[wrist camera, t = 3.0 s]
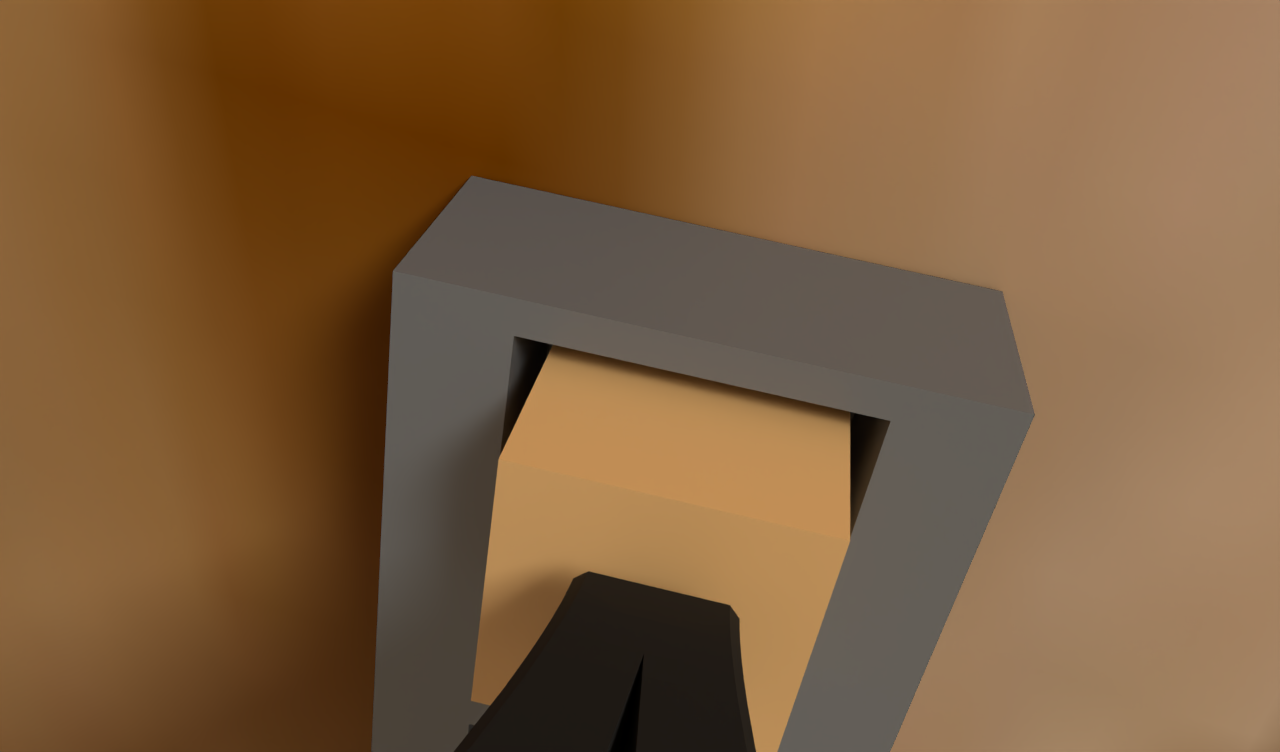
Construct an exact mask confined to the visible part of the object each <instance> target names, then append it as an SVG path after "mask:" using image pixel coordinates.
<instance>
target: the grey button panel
mask: <svg viewBox="0 0 1280 752" xmlns="http://www.w3.org/2000/svg"><path fill="white" fill-rule="evenodd" d="M553 345H557V346H561V347H566V348H570V349H574V350H579V351H583V352H588V353H592V354H597V355H601V356H605V357H610V358H614V359H619V360H623V361H628V362H632V363H636V364H641V365H645V366H650V367H654V368H659V369H663V370H667V371H672V372H676V373H681V374H685V375H689V376H694V377H698V378H703V379H707V380H712V381H716V382H720V383H725V384H729V385H734V386H738V387H743V388H747V389H751V390H756V391H760V392H765V393H769V394H774V395H778V396H782V397H787V398H791V399H796V400H800V401H805V402H809V403H813V404H818V405H822V406H827V407H831V408H836V409H840V410H844V411H849V412H850V543H849V546H848V549H847V552H846V554H845V557H844V560H843V563H842V566H841V569H840V572H839V575H838V578H837V581H836V583H835V586H834V589H833V592H832V595H831V598H830V601H829V604H828V607H827V609H826V612H825V615H824V618H823V621H822V624H821V627H820V630H819V633H818V635H817V638H816V641H815V644H814V647H813V650H812V653H811V656H810V659H809V662H808V664H807V667H806V670H805V673H804V676H803V679H802V682H801V685H800V688H799V690H798V693H797V696H796V699H795V702H794V705H793V708H792V711H791V714H790V716H789V719H788V722H787V725H786V728H785V731H784V734H783V737H782V740H781V743H780V745H779V748H778V751H777V752H890V751H891V748H892V746H893V744H894V741H895V739H896V737H897V734H898V732H899V730H900V727H901V725H902V723H903V720H904V718H905V716H906V713H907V711H908V709H909V706H910V704H911V702H912V699H913V697H914V695H915V692H916V690H917V688H918V685H919V683H920V681H921V678H922V676H923V674H924V671H925V669H926V667H927V664H928V662H929V660H930V657H931V655H932V653H933V650H934V648H935V646H936V643H937V641H938V639H939V636H940V634H941V632H942V629H943V627H944V625H945V622H946V620H947V618H948V616H949V613H950V611H951V609H952V606H953V604H954V602H955V599H956V597H957V595H958V592H959V590H960V588H961V585H962V583H963V581H964V578H965V576H966V574H967V571H968V569H969V567H970V564H971V562H972V560H973V557H974V555H975V553H976V550H977V548H978V546H979V543H980V541H981V539H982V536H983V534H984V532H985V529H986V527H987V525H988V522H989V520H990V518H991V515H992V513H993V511H994V508H995V506H996V504H997V501H998V499H999V497H1000V494H1001V492H1002V490H1003V487H1004V485H1005V483H1006V480H1007V478H1008V476H1009V473H1010V471H1011V469H1012V466H1013V464H1014V462H1015V459H1016V457H1017V455H1018V452H1019V450H1020V448H1021V445H1022V443H1023V441H1024V438H1025V436H1026V434H1027V431H1028V429H1029V427H1030V424H1031V422H1032V420H1033V417H1034V415H1035V414H1034V410H1033V406H1032V402H1031V399H1030V395H1029V391H1028V387H1027V383H1026V380H1025V376H1024V372H1023V368H1022V364H1021V361H1020V357H1019V353H1018V349H1017V346H1016V342H1015V338H1014V334H1013V330H1012V327H1011V323H1010V319H1009V315H1008V311H1007V308H1006V304H1005V300H1004V296H1003V292H1002V291H997V290H993V289H988V288H984V287H979V286H974V285H970V284H965V283H961V282H956V281H952V280H947V279H942V278H938V277H933V276H929V275H924V274H919V273H915V272H910V271H906V270H901V269H897V268H892V267H887V266H883V265H878V264H874V263H869V262H865V261H860V260H855V259H851V258H846V257H842V256H837V255H832V254H828V253H823V252H819V251H814V250H810V249H805V248H800V247H796V246H791V245H787V244H782V243H777V242H773V241H768V240H764V239H759V238H755V237H750V236H745V235H741V234H736V233H732V232H727V231H722V230H718V229H713V228H709V227H704V226H700V225H695V224H690V223H686V222H681V221H677V220H672V219H667V218H663V217H658V216H654V215H649V214H645V213H640V212H635V211H631V210H626V209H622V208H617V207H612V206H608V205H603V204H599V203H594V202H590V201H585V200H580V199H576V198H571V197H567V196H562V195H557V194H553V193H548V192H544V191H539V190H535V189H530V188H525V187H521V186H516V185H512V184H507V183H502V182H498V181H493V180H489V179H484V178H480V177H475V176H471V177H470V178H469V180H468V181H467V182H466V183H465V184H464V186H463V187H462V188H461V189H460V190H459V192H458V193H457V194H456V195H455V197H454V198H453V199H452V200H451V201H450V203H449V204H448V205H447V206H446V207H445V209H444V210H443V211H442V212H441V213H440V215H439V216H438V217H437V218H436V220H435V221H434V222H433V223H432V224H431V226H430V227H429V228H428V229H427V230H426V232H425V233H424V234H423V235H422V236H421V238H420V239H419V240H418V241H417V243H416V244H415V245H414V246H413V247H412V249H411V250H410V251H409V252H408V253H407V255H406V256H405V257H404V258H403V259H402V261H401V262H400V263H399V264H398V266H397V267H396V268H395V269H394V270H393V283H392V306H391V328H390V350H389V372H388V394H387V416H386V438H385V460H384V482H383V505H382V527H381V549H380V571H379V593H378V615H377V637H376V659H375V682H374V704H373V726H372V748H371V752H454V751H455V749H456V748H457V747H458V745H459V744H460V743H461V742H462V740H463V739H464V738H465V737H466V735H467V734H468V733H469V732H470V730H471V729H472V728H473V727H474V725H475V724H476V723H477V721H478V720H479V719H480V718H481V716H482V715H483V714H484V713H485V711H486V710H487V709H488V708H489V706H490V705H486V704H482V703H478V702H474V701H471V695H472V687H473V678H474V669H475V660H476V652H477V643H478V634H479V626H480V617H481V608H482V599H483V591H484V582H485V573H486V564H487V556H488V547H489V538H490V530H491V521H492V512H493V503H494V495H495V486H496V477H497V468H498V460H499V457H500V455H501V453H502V451H503V449H504V447H505V445H506V442H507V440H508V438H509V436H510V434H511V432H512V430H513V428H514V426H515V423H516V421H517V419H518V417H519V415H520V413H521V411H522V409H523V407H524V405H525V402H526V400H527V398H528V396H529V394H530V392H531V390H532V388H533V386H534V383H535V381H536V379H537V377H538V375H539V373H540V371H541V369H542V367H543V364H544V362H545V360H546V358H547V356H548V354H549V352H550V350H551V348H552V346H553Z"/></svg>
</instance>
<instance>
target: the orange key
mask: <svg viewBox="0 0 1280 752" xmlns="http://www.w3.org/2000/svg"><path fill="white" fill-rule="evenodd" d="M849 543H850V412H849V411H844V410H840V409H836V408H831V407H827V406H822V405H818V404H813V403H809V402H805V401H800V400H796V399H791V398H787V397H782V396H778V395H774V394H769V393H765V392H760V391H756V390H751V389H747V388H743V387H738V386H734V385H729V384H725V383H720V382H716V381H712V380H707V379H703V378H698V377H694V376H689V375H685V374H681V373H676V372H672V371H667V370H663V369H659V368H654V367H650V366H645V365H641V364H636V363H632V362H628V361H623V360H619V359H614V358H610V357H605V356H601V355H597V354H592V353H588V352H583V351H579V350H574V349H570V348H566V347H561V346H557V345H553V346H552V348H551V350H550V352H549V354H548V356H547V358H546V360H545V362H544V364H543V367H542V369H541V371H540V373H539V375H538V377H537V379H536V381H535V383H534V386H533V388H532V390H531V392H530V394H529V396H528V398H527V400H526V402H525V405H524V407H523V409H522V411H521V413H520V415H519V417H518V419H517V421H516V423H515V426H514V428H513V430H512V432H511V434H510V436H509V438H508V440H507V442H506V445H505V447H504V449H503V451H502V453H501V455H500V457H499V460H498V468H497V477H496V486H495V495H494V503H493V512H492V521H491V530H490V538H489V547H488V556H487V564H486V573H485V582H484V591H483V599H482V608H481V617H480V626H479V634H478V643H477V652H476V660H475V669H474V678H473V687H472V695H471V701H474V702H478V703H482V704H486V705H491V704H492V702H493V701H494V700H495V699H496V697H497V696H498V695H499V694H500V692H501V691H502V690H503V688H504V687H505V686H506V684H507V683H508V682H509V680H510V679H511V677H512V676H513V675H514V673H515V672H516V670H517V669H518V668H519V666H520V665H521V663H522V662H523V661H524V659H525V658H526V656H527V655H528V654H529V652H530V651H531V649H532V648H533V646H534V645H535V643H536V642H537V640H538V639H539V637H540V636H541V634H542V633H543V631H544V630H545V628H546V627H547V625H548V623H549V622H550V620H551V619H552V617H553V615H554V614H555V612H556V610H557V608H558V607H559V605H560V603H561V602H562V600H563V598H564V596H565V594H566V592H567V590H568V588H569V586H570V584H571V582H572V580H573V578H575V577H577V576H579V575H581V574H583V573H586V572H588V571H590V572H594V573H598V574H602V575H606V576H611V577H615V578H619V579H623V580H627V581H632V582H636V583H640V584H644V585H648V586H652V587H657V588H661V589H665V590H669V591H673V592H677V593H682V594H686V595H690V596H694V597H698V598H703V599H707V600H711V601H715V602H719V603H723V604H728V605H730V606H731V607H732V609H733V610H734V611H735V613H736V614H737V616H738V617H739V618H740V645H741V657H742V667H743V675H744V683H745V690H746V697H747V704H748V710H749V715H750V721H751V726H752V732H753V737H754V743H755V748H756V752H777V751H778V748H779V745H780V743H781V740H782V737H783V734H784V731H785V728H786V725H787V722H788V719H789V716H790V714H791V711H792V708H793V705H794V702H795V699H796V696H797V693H798V690H799V688H800V685H801V682H802V679H803V676H804V673H805V670H806V667H807V664H808V662H809V659H810V656H811V653H812V650H813V647H814V644H815V641H816V638H817V635H818V633H819V630H820V627H821V624H822V621H823V618H824V615H825V612H826V609H827V607H828V604H829V601H830V598H831V595H832V592H833V589H834V586H835V583H836V581H837V578H838V575H839V572H840V569H841V566H842V563H843V560H844V557H845V554H846V552H847V549H848V546H849Z"/></svg>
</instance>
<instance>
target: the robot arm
mask: <svg viewBox="0 0 1280 752" xmlns="http://www.w3.org/2000/svg"><path fill="white" fill-rule="evenodd" d="M454 752H756V748H755V743H754V737H753V732H752V726H751V721H750V715H749V710H748V704H747V697H746V690H745V683H744V675H743V667H742V657H741V645H740V618H739V617H738V616H737V614H736V613H735V611H734V610H733V609H732V607H731V606H730V605H728V604H723V603H719V602H715V601H711V600H707V599H703V598H698V597H694V596H690V595H686V594H682V593H677V592H673V591H669V590H665V589H661V588H657V587H652V586H648V585H644V584H640V583H636V582H632V581H627V580H623V579H619V578H615V577H611V576H606V575H602V574H598V573H594V572H590V571H588V572H586V573H583V574H581V575H579V576H577V577H575V578H573V580H572V582H571V584H570V586H569V588H568V590H567V592H566V594H565V596H564V598H563V600H562V602H561V603H560V605H559V607H558V608H557V610H556V612H555V614H554V615H553V617H552V619H551V620H550V622H549V623H548V625H547V627H546V628H545V630H544V631H543V633H542V634H541V636H540V637H539V639H538V640H537V642H536V643H535V645H534V646H533V648H532V649H531V651H530V652H529V654H528V655H527V656H526V658H525V659H524V661H523V662H522V663H521V665H520V666H519V668H518V669H517V670H516V672H515V673H514V675H513V676H512V677H511V679H510V680H509V682H508V683H507V684H506V686H505V687H504V688H503V690H502V691H501V692H500V694H499V695H498V696H497V697H496V699H495V700H494V701H493V702H492V704H491V705H490V706H489V708H488V709H487V710H486V711H485V713H484V714H483V715H482V716H481V718H480V719H479V720H478V721H477V723H476V724H475V725H474V727H473V728H472V729H471V730H470V732H469V733H468V734H467V735H466V737H465V738H464V739H463V740H462V742H461V743H460V744H459V745H458V747H457V748H456V749H455V751H454Z"/></svg>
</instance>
